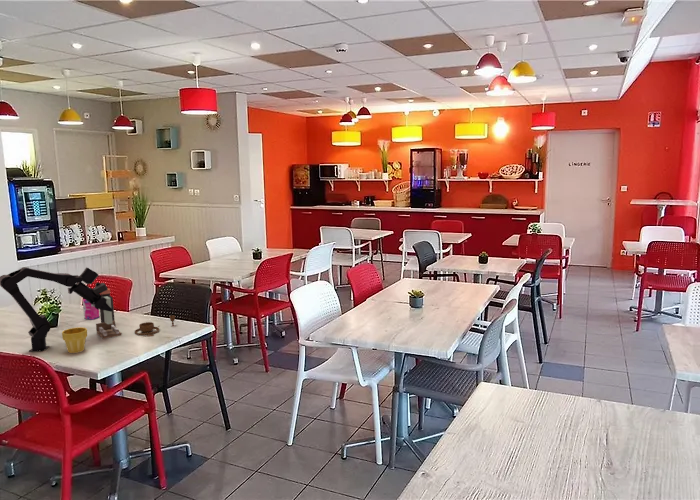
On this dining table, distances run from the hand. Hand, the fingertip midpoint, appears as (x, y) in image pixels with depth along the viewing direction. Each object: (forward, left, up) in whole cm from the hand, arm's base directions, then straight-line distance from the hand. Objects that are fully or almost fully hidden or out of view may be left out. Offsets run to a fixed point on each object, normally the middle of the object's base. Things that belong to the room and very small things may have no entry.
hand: (110, 309), depth 264 cm
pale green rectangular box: (-1, +1, -7) cm, 7 cm away
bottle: (+17, +9, -13) cm, 23 cm away
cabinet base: (0, +1, -13) cm, 13 cm away
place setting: (+3, -21, -14) cm, 25 cm away
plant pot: (-24, +7, -13) cm, 28 cm away
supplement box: (+32, +24, -13) cm, 42 cm away
